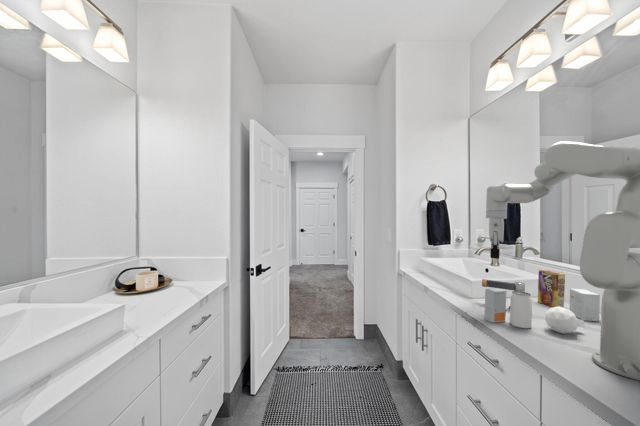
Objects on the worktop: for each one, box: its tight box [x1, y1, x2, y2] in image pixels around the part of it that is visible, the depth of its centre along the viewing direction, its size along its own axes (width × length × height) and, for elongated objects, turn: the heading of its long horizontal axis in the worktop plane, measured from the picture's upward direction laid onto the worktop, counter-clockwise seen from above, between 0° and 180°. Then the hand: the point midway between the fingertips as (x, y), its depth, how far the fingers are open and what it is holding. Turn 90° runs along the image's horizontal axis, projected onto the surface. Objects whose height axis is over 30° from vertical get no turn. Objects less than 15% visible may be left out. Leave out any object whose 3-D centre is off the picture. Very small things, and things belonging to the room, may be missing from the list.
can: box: [509, 290, 533, 330], centre depth 103 cm, size 6×6×12 cm
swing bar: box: [481, 278, 526, 292], centre depth 122 cm, size 4×16×4 cm, turn 57°
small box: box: [569, 288, 601, 322], centre depth 112 cm, size 8×6×10 cm
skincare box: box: [483, 287, 508, 324], centre depth 107 cm, size 6×4×12 cm
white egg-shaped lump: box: [544, 306, 585, 335], centre depth 98 cm, size 9×9×12 cm
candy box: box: [537, 269, 566, 308], centre depth 126 cm, size 9×4×15 cm, turn 13°
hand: (494, 257), depth 119 cm, fingers closed
